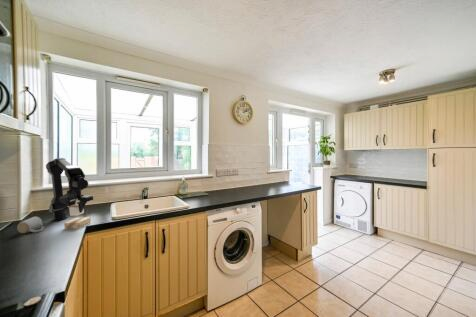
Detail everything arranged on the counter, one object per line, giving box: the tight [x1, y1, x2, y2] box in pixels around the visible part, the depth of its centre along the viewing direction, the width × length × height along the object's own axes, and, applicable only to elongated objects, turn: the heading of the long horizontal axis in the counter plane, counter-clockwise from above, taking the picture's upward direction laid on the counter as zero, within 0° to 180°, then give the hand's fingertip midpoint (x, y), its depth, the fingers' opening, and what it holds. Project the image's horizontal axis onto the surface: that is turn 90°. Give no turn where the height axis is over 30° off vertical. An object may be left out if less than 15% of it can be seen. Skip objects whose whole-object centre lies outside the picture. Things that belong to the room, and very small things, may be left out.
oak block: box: [63, 216, 92, 230], centre depth 122 cm, size 9×9×4 cm
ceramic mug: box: [16, 216, 44, 234], centre depth 116 cm, size 11×8×8 cm
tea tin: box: [68, 203, 85, 217], centre depth 122 cm, size 5×5×6 cm
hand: (77, 212), depth 122 cm, fingers closed on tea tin, 5 cm apart
